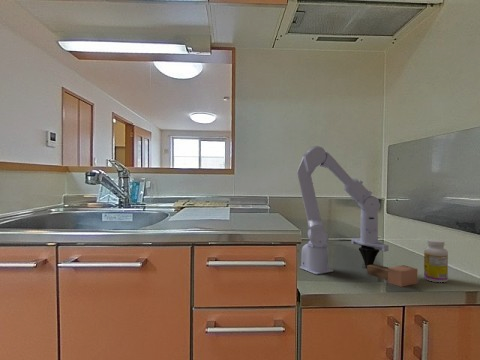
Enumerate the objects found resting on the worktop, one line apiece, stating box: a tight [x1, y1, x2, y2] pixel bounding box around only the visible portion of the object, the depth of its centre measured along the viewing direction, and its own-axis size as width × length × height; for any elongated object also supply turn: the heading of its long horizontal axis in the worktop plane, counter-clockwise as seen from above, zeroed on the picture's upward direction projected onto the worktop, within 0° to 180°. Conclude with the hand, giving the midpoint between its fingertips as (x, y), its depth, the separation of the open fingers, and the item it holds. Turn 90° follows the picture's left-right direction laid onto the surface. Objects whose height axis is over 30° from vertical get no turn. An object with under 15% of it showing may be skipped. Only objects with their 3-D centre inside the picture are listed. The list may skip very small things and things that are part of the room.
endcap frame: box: [361, 262, 418, 288], centre depth 112 cm, size 21×8×4 cm, turn 27°
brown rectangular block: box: [366, 263, 389, 281], centre depth 112 cm, size 8×4×3 cm, turn 33°
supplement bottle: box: [423, 238, 449, 284], centre depth 107 cm, size 7×7×13 cm
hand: (369, 267), depth 117 cm, fingers closed
